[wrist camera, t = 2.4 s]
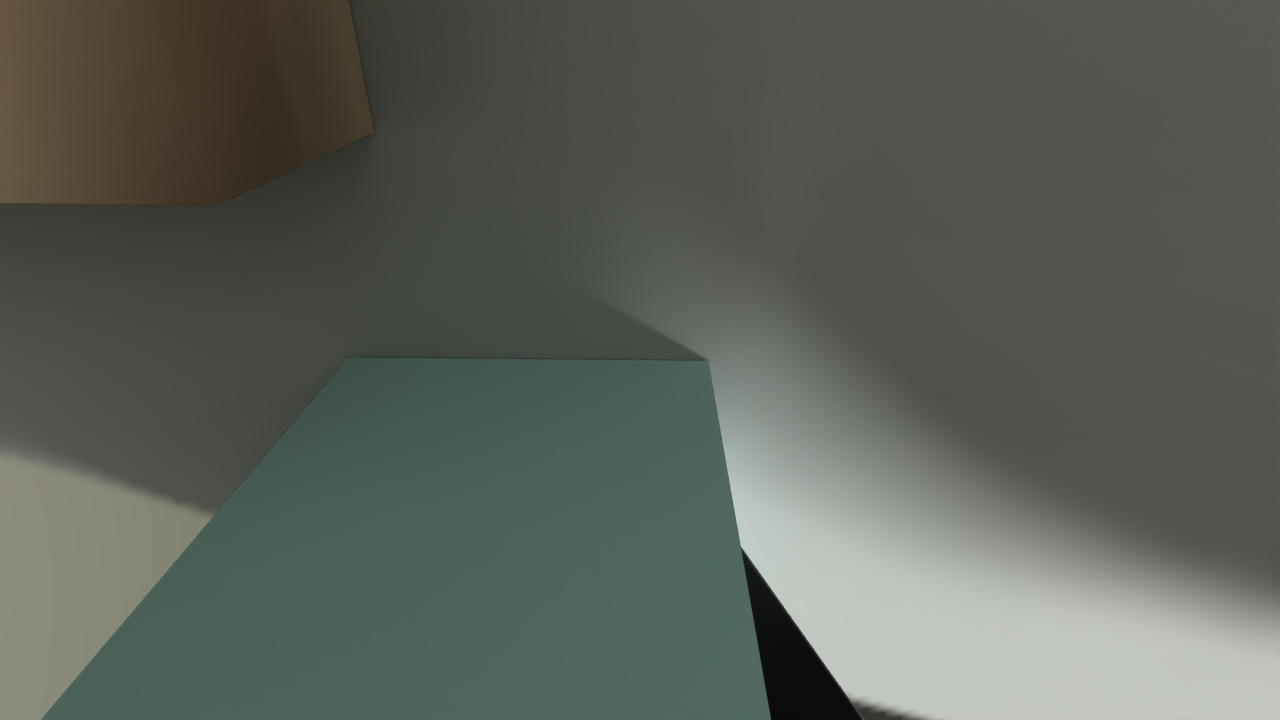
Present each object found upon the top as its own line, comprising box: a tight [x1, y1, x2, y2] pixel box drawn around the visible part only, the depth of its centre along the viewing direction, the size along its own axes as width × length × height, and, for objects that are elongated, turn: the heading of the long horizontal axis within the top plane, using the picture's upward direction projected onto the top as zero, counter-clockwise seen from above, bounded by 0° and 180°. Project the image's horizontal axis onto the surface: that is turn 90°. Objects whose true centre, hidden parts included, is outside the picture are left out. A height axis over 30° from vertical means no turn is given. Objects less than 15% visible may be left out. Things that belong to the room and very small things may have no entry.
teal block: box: [41, 357, 771, 720], centre depth 7 cm, size 5×5×6 cm
